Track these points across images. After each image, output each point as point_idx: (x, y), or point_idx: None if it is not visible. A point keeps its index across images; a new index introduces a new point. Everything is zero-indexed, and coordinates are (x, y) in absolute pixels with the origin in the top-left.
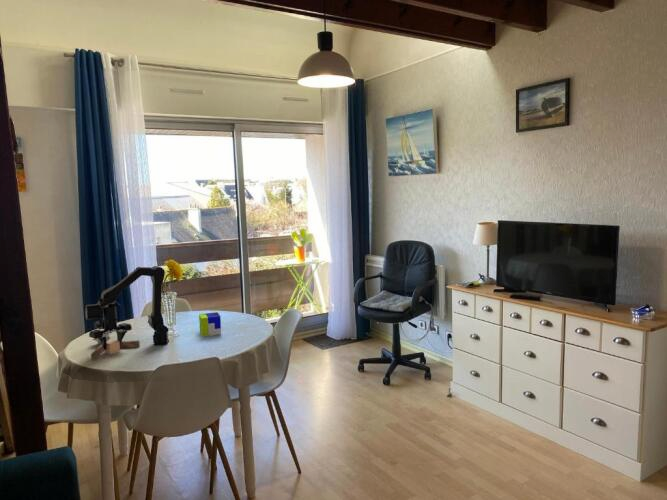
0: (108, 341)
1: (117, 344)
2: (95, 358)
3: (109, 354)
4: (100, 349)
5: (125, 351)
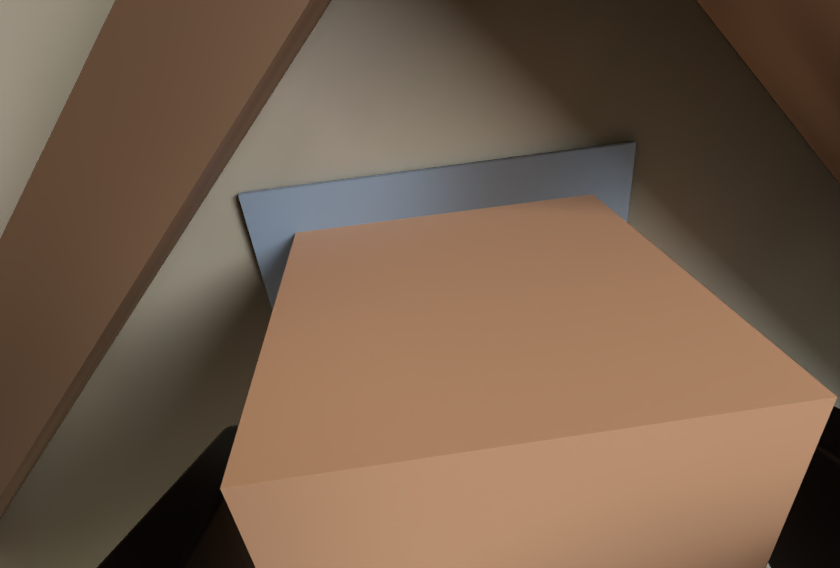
0: (475, 486)
1: None
2: (3, 512)
3: None
4: (124, 310)
5: None
